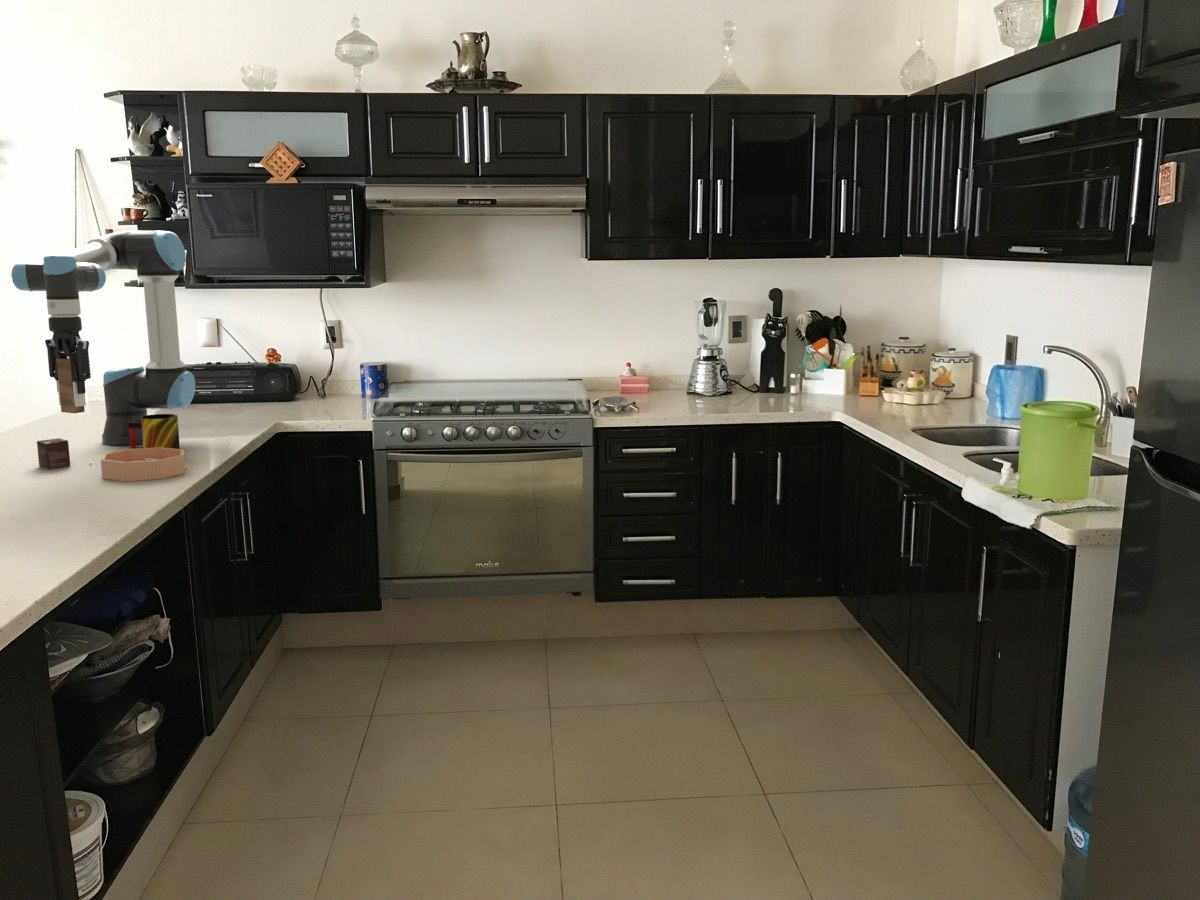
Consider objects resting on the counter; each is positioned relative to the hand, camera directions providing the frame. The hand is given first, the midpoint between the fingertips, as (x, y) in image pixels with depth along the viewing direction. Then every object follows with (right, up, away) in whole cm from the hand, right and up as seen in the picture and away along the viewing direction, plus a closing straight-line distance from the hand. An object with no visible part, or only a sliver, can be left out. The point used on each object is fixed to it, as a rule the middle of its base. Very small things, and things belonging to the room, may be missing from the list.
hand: (72, 405), depth 266 cm
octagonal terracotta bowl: (+16, -18, +7) cm, 25 cm away
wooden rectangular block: (0, -2, 0) cm, 2 cm away
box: (-12, -17, +14) cm, 25 cm away
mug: (+9, -14, +28) cm, 32 cm away
